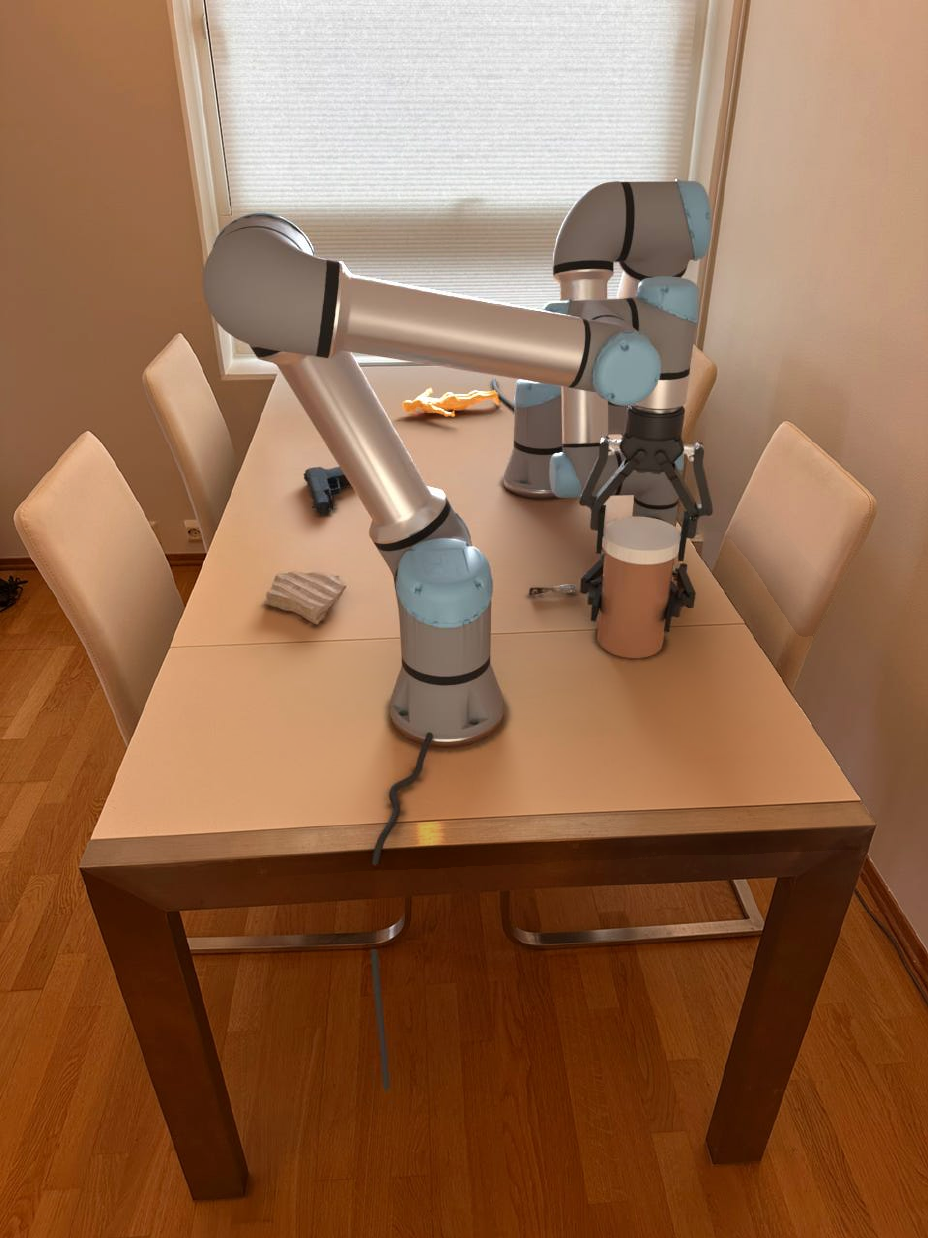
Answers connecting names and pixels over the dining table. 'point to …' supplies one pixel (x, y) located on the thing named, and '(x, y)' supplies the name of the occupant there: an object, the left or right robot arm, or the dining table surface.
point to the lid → (641, 540)
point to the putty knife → (553, 589)
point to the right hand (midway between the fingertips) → (630, 618)
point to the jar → (633, 607)
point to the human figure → (448, 402)
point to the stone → (305, 593)
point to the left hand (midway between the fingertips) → (639, 553)
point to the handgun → (325, 486)
